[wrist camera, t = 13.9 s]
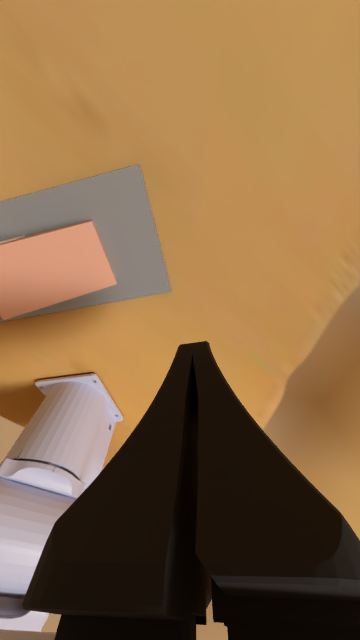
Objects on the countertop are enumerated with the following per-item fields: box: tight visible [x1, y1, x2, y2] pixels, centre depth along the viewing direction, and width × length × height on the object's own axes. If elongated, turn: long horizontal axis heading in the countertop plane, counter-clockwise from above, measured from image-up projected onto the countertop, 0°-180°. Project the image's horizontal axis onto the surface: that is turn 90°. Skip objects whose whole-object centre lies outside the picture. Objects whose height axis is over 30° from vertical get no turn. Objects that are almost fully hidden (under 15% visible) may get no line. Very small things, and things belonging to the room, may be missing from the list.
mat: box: [0, 164, 171, 322], centre depth 18 cm, size 9×27×1 cm, turn 102°
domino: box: [0, 219, 117, 320], centre depth 15 cm, size 4×2×8 cm
